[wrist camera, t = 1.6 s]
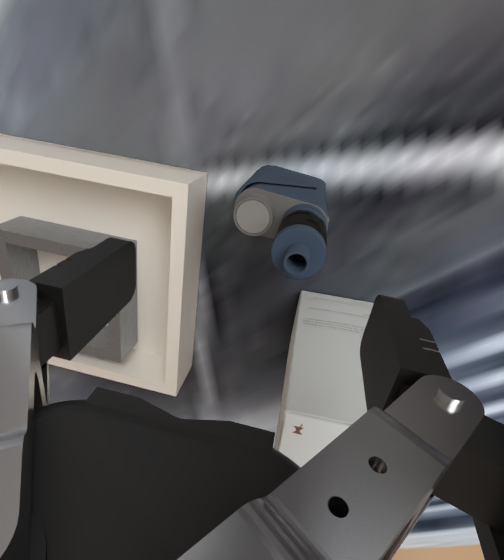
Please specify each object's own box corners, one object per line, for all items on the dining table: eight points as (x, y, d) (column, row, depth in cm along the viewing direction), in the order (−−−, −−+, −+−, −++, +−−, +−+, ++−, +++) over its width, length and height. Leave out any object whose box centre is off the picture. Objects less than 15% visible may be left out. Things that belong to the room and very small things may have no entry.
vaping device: (321, 216, 26) (316, 299, 15) (250, 195, 26) (196, 262, 15) (333, 180, 24) (338, 244, 14) (259, 158, 25) (207, 204, 14)
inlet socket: (20, 215, 29) (-10, 227, 27) (136, 240, 28) (117, 255, 26) (37, 317, 34) (13, 335, 31) (137, 341, 33) (121, 363, 30)
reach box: (-44, 125, 28) (-98, 129, 24) (207, 172, 26) (188, 184, 22) (0, 318, 36) (-35, 342, 33) (191, 365, 34) (176, 396, 31)
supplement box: (285, 360, 32) (262, 500, 21) (300, 287, 28) (282, 408, 17) (371, 378, 31) (394, 535, 20) (396, 305, 28) (442, 445, 16)
